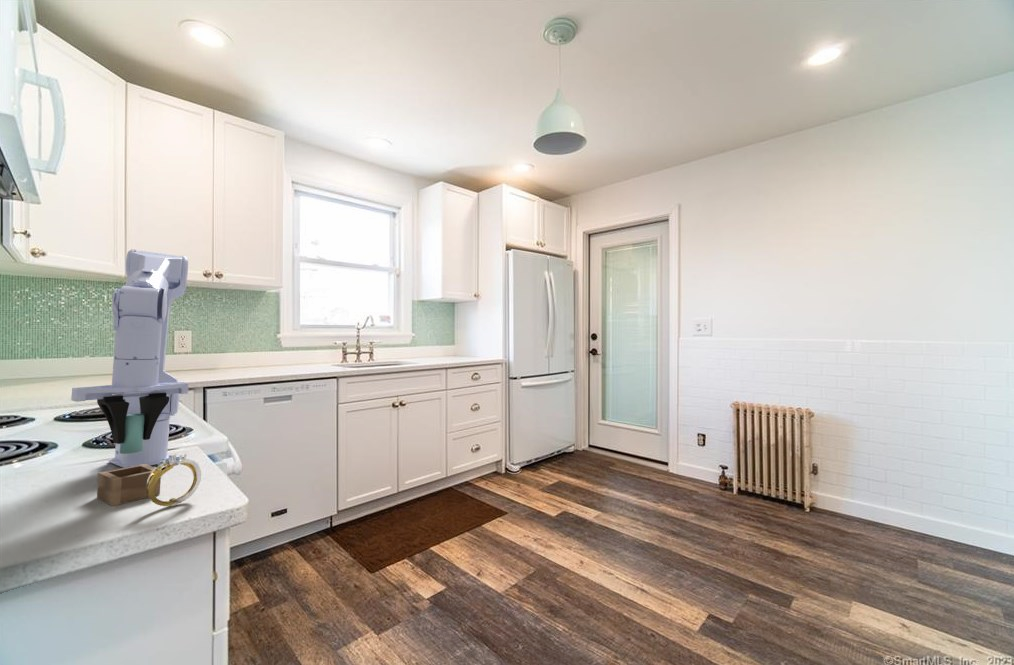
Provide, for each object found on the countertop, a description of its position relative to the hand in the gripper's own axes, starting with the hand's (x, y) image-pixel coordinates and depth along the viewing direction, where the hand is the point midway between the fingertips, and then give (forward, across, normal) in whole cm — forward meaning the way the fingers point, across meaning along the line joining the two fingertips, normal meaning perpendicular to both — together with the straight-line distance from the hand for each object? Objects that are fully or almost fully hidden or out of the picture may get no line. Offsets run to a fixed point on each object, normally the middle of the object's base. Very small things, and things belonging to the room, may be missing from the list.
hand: (131, 440), depth 68 cm
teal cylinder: (+2, 0, 0) cm, 2 cm away
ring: (+9, +2, -10) cm, 14 cm away
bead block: (+9, 0, 0) cm, 9 cm away
